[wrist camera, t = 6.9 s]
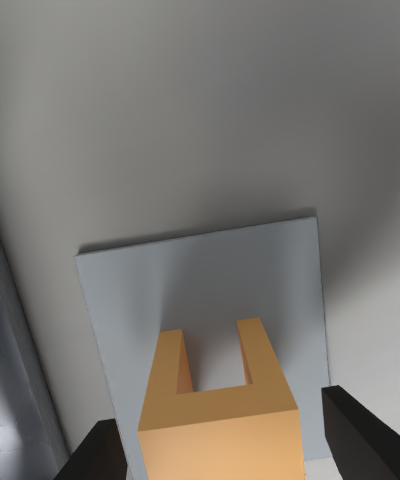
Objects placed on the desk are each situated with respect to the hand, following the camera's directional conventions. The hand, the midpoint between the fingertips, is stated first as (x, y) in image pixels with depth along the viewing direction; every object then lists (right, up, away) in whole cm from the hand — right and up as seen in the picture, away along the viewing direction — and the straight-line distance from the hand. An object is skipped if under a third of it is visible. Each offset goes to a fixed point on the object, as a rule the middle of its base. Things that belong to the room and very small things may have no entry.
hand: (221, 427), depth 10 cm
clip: (0, +1, +3) cm, 3 cm away
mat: (0, +1, +4) cm, 4 cm away
